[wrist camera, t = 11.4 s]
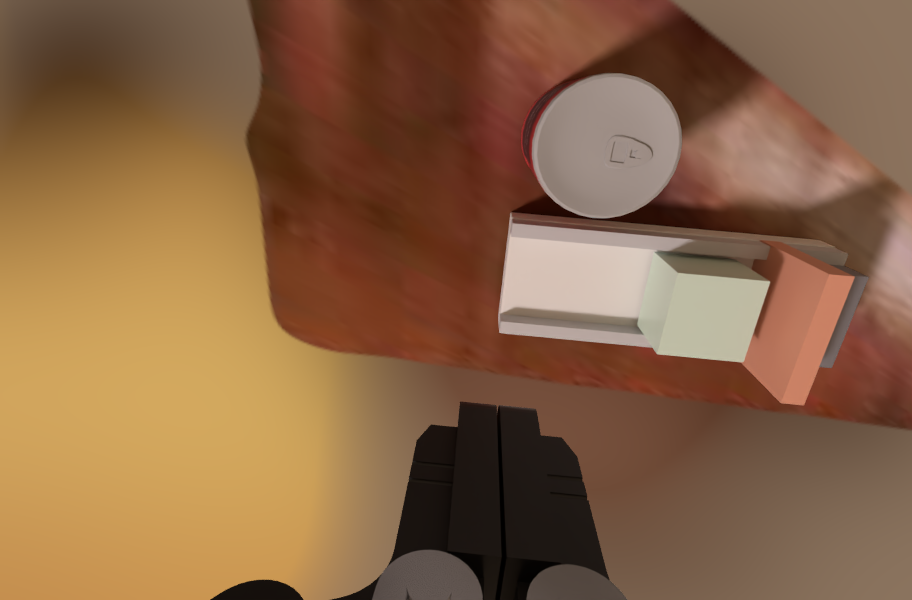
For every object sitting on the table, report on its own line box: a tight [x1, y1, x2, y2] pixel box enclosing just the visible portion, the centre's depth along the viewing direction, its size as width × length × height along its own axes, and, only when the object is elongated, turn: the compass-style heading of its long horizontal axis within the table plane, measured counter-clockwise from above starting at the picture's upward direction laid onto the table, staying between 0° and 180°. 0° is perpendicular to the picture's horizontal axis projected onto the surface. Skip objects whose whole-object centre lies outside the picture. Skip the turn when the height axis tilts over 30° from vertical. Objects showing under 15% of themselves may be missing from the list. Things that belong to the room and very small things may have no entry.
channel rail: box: [498, 212, 869, 405], centre depth 36 cm, size 24×9×10 cm, turn 86°
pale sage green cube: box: [637, 252, 770, 362], centre depth 36 cm, size 6×6×5 cm
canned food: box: [521, 73, 682, 218], centre depth 32 cm, size 8×8×11 cm
